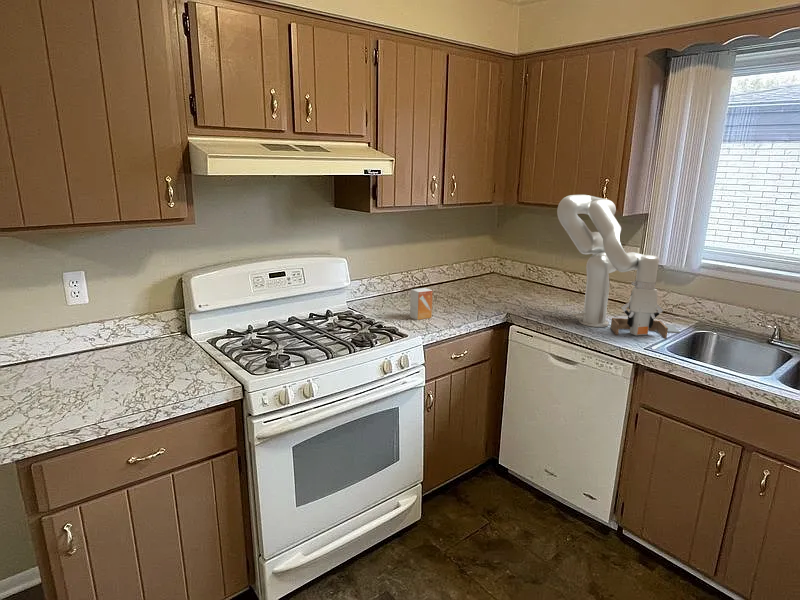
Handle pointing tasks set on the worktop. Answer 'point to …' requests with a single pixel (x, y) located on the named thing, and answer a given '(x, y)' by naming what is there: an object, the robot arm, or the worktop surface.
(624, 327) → the brown u-shaped bracket
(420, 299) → the small box
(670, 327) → the mat
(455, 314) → the worktop surface
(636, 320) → the skincare box
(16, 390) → the worktop surface
